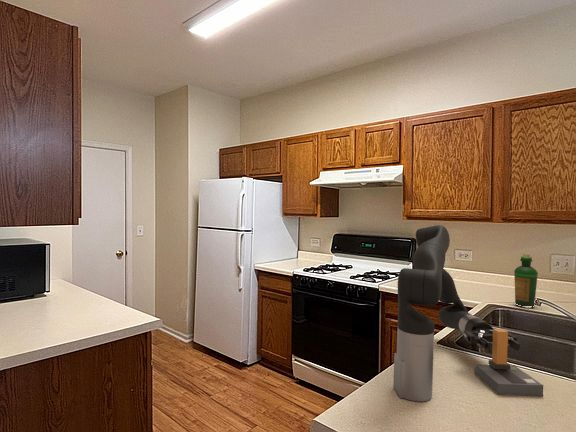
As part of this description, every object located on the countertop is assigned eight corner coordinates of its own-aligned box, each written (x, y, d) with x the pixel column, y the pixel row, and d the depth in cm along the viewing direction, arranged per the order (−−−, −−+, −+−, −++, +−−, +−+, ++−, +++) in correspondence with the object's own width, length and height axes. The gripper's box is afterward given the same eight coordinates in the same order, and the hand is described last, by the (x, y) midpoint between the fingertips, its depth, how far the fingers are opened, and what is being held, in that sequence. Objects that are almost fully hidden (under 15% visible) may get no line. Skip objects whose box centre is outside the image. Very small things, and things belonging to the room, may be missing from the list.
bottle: (509, 303, 201) (511, 252, 200) (531, 304, 199) (532, 253, 198) (517, 308, 190) (519, 255, 190) (540, 309, 188) (542, 256, 188)
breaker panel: (498, 394, 97) (498, 383, 97) (474, 373, 110) (475, 364, 110) (543, 396, 97) (543, 384, 97) (514, 375, 110) (514, 365, 110)
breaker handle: (495, 368, 106) (496, 332, 106) (488, 363, 109) (489, 328, 109) (510, 369, 106) (511, 332, 106) (503, 364, 109) (504, 328, 109)
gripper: (454, 317, 122) (479, 333, 106) (496, 318, 122) (528, 334, 105) (453, 339, 122) (478, 358, 106) (496, 340, 122) (527, 360, 106)
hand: (503, 346), depth 106 cm, fingers open, 8 cm apart
